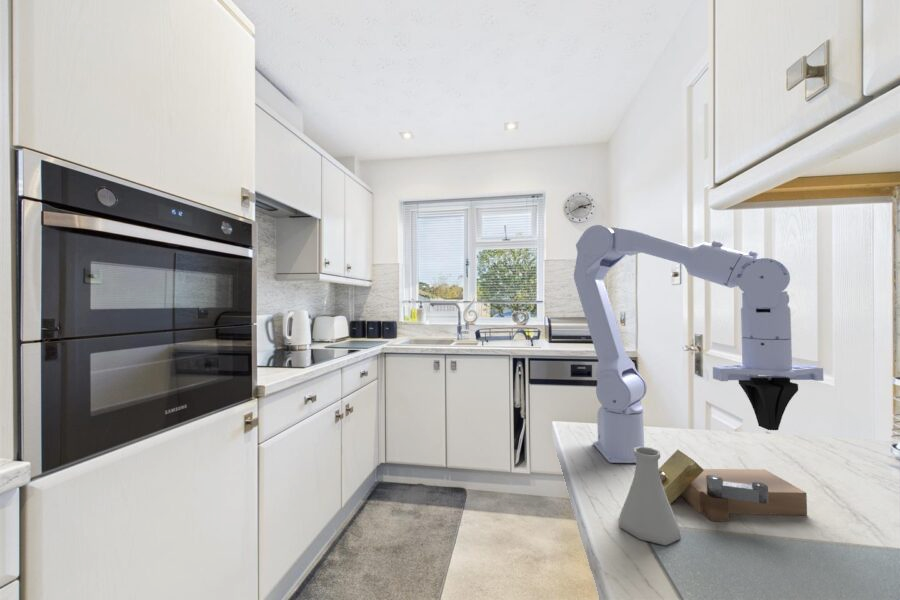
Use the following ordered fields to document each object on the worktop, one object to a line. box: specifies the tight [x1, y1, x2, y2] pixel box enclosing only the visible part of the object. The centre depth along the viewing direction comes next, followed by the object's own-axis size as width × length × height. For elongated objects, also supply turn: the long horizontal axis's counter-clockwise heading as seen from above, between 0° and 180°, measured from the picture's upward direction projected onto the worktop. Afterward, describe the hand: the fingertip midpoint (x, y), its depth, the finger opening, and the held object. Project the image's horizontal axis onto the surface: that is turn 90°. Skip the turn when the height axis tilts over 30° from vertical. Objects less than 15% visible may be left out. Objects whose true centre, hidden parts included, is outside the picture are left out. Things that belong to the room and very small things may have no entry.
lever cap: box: [658, 449, 704, 505], centre depth 55 cm, size 4×7×3 cm
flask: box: [618, 446, 682, 546], centre depth 48 cm, size 7×7×10 cm
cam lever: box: [706, 475, 769, 504], centre depth 49 cm, size 7×2×2 cm, turn 70°
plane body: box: [679, 468, 808, 522], centre depth 53 cm, size 9×14×3 cm, turn 86°
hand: (768, 428), depth 55 cm, fingers closed
